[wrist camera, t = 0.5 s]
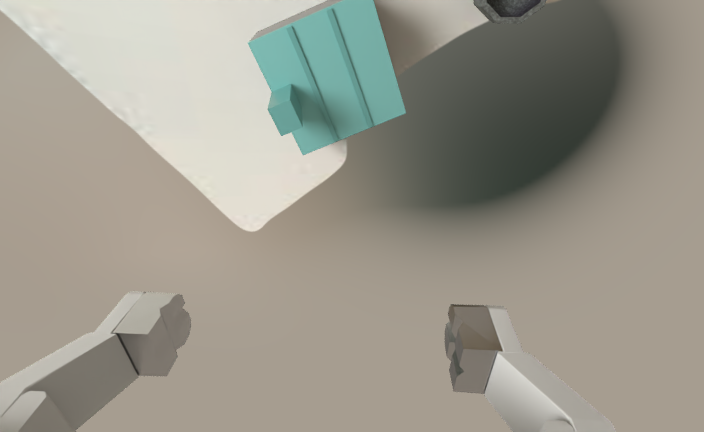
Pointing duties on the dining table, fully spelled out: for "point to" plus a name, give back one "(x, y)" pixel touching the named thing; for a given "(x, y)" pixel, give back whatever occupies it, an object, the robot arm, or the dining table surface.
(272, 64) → the lid
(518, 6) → the mortar and pestle
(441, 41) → the dining table surface
